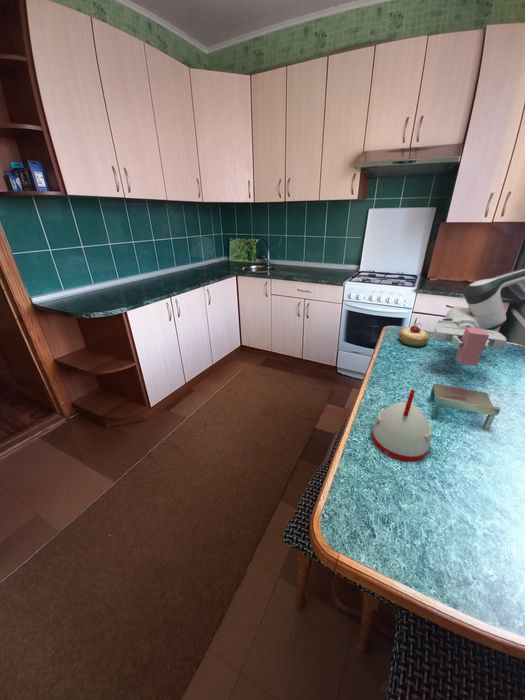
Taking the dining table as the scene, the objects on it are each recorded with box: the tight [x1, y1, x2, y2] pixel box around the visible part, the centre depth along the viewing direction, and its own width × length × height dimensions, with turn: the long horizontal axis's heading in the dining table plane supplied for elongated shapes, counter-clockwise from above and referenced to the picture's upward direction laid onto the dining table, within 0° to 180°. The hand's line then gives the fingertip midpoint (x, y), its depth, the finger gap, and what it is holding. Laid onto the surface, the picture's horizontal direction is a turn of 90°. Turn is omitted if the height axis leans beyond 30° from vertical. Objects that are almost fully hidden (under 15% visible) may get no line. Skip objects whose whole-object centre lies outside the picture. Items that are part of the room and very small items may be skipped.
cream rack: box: [428, 383, 501, 431], centre depth 84 cm, size 14×11×8 cm
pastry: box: [398, 322, 431, 348], centre depth 127 cm, size 12×12×9 cm
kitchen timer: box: [371, 389, 433, 462], centre depth 74 cm, size 14×14×15 cm
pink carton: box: [455, 327, 489, 367], centre depth 93 cm, size 5×5×11 cm
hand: (472, 346), depth 92 cm, fingers closed on pink carton, 5 cm apart
